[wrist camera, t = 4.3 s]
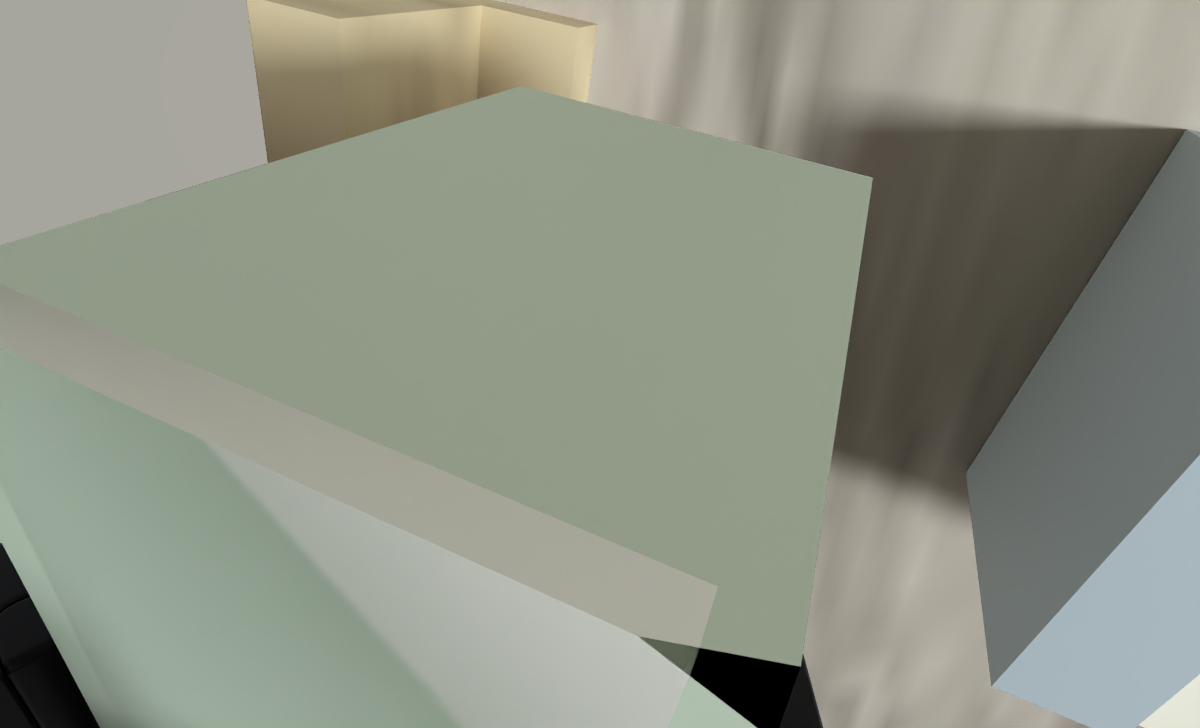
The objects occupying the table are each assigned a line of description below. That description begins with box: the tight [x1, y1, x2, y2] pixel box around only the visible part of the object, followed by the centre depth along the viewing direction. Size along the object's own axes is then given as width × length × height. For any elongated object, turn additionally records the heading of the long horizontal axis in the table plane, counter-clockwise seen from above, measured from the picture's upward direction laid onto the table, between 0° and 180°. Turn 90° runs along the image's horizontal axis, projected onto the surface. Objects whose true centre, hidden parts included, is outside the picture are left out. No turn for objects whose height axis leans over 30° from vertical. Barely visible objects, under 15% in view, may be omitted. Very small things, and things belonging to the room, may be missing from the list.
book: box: [0, 86, 873, 728], centre depth 7 cm, size 9×4×6 cm, turn 172°
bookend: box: [246, 0, 597, 163], centre depth 16 cm, size 8×4×6 cm, turn 172°
